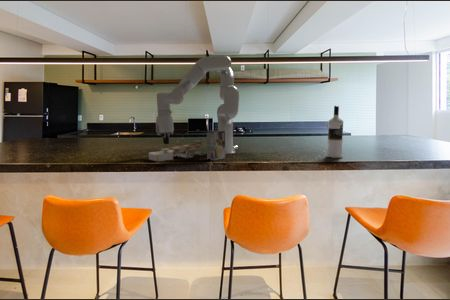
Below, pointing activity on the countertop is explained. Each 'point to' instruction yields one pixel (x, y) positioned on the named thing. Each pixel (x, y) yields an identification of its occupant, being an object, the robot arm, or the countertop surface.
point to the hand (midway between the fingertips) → (166, 143)
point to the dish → (160, 156)
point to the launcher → (184, 147)
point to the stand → (186, 154)
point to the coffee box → (215, 145)
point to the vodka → (335, 135)
